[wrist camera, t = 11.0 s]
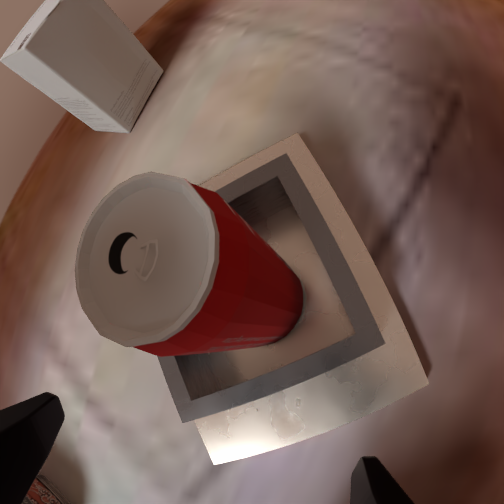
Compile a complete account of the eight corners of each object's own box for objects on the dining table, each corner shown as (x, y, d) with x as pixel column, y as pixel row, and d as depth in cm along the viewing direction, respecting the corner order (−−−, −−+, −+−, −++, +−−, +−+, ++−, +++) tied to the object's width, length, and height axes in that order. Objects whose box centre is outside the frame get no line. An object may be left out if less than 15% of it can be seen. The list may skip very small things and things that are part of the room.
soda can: (313, 264, 19) (249, 161, 8) (292, 356, 18) (190, 391, 7) (227, 248, 21) (95, 158, 9) (206, 332, 20) (47, 320, 9)
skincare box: (129, 75, 31) (50, -7, 17) (168, 71, 29) (86, -28, 15) (93, 135, 30) (-6, 60, 16) (130, 138, 28) (19, 44, 14)
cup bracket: (425, 381, 16) (448, 396, 11) (220, 460, 18) (184, 487, 14) (300, 140, 22) (284, 96, 17) (139, 230, 24) (97, 209, 20)
